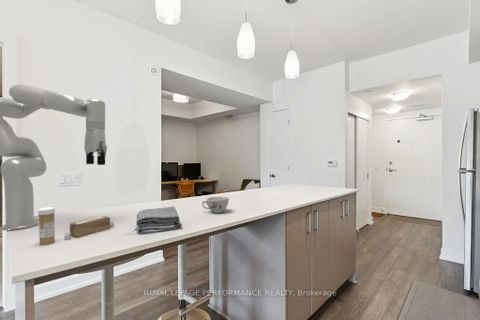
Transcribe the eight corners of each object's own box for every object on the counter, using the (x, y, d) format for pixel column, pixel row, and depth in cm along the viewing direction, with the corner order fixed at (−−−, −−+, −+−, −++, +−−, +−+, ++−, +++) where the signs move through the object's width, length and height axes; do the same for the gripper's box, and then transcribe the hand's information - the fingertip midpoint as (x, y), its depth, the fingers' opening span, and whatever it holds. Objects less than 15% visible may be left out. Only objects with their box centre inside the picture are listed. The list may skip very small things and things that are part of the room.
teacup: (226, 209, 140) (226, 195, 140) (231, 214, 128) (230, 199, 128) (201, 210, 136) (201, 196, 136) (203, 215, 124) (202, 200, 124)
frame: (69, 236, 92) (69, 223, 92) (103, 227, 103) (103, 215, 103) (76, 238, 89) (76, 224, 89) (110, 229, 100) (109, 217, 100)
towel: (136, 225, 109) (136, 209, 108) (176, 221, 116) (176, 205, 116) (136, 236, 95) (136, 216, 95) (182, 229, 102) (182, 211, 102)
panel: (49, 237, 93) (49, 228, 93) (101, 224, 110) (101, 216, 110) (69, 245, 85) (69, 234, 85) (121, 229, 102) (121, 221, 102)
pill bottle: (37, 245, 85) (36, 208, 84) (53, 242, 88) (52, 206, 88) (40, 248, 82) (39, 210, 81) (57, 244, 85) (56, 207, 85)
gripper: (77, 127, 109) (77, 164, 110) (96, 125, 100) (96, 165, 100) (94, 128, 116) (94, 163, 116) (114, 127, 106) (114, 164, 107)
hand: (95, 164), depth 108 cm, fingers open, 9 cm apart
